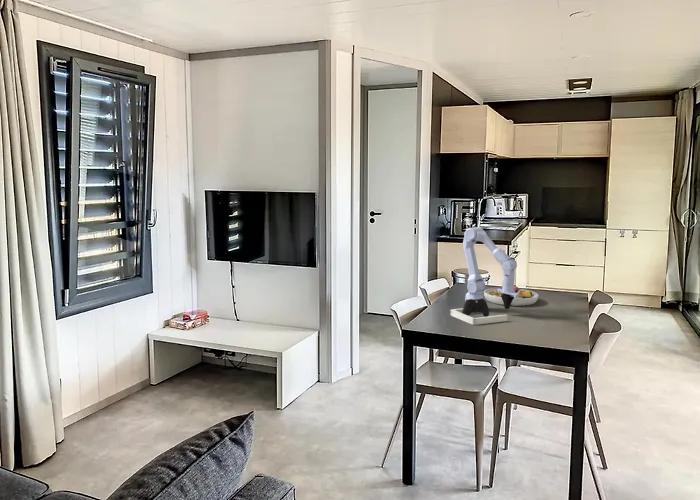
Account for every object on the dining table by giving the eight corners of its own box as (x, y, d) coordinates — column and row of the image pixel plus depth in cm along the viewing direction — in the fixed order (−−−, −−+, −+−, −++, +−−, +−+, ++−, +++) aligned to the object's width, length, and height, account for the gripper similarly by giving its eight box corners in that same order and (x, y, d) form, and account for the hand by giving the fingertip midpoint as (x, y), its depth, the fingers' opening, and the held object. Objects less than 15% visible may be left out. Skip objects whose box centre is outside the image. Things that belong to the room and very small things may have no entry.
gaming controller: (464, 320, 276) (464, 300, 274) (459, 317, 282) (460, 297, 280) (491, 319, 278) (491, 299, 276) (486, 316, 284) (487, 297, 282)
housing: (450, 315, 285) (450, 309, 284) (482, 311, 293) (482, 306, 292) (473, 324, 267) (473, 318, 266) (506, 320, 274) (507, 315, 274)
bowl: (545, 307, 304) (546, 293, 303) (490, 307, 304) (491, 293, 303) (528, 296, 333) (529, 283, 332) (478, 295, 334) (479, 282, 332)
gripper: (524, 285, 279) (522, 311, 281) (505, 279, 293) (504, 304, 294) (512, 286, 277) (511, 312, 278) (494, 280, 290) (493, 306, 292)
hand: (507, 308), depth 286 cm, fingers closed
